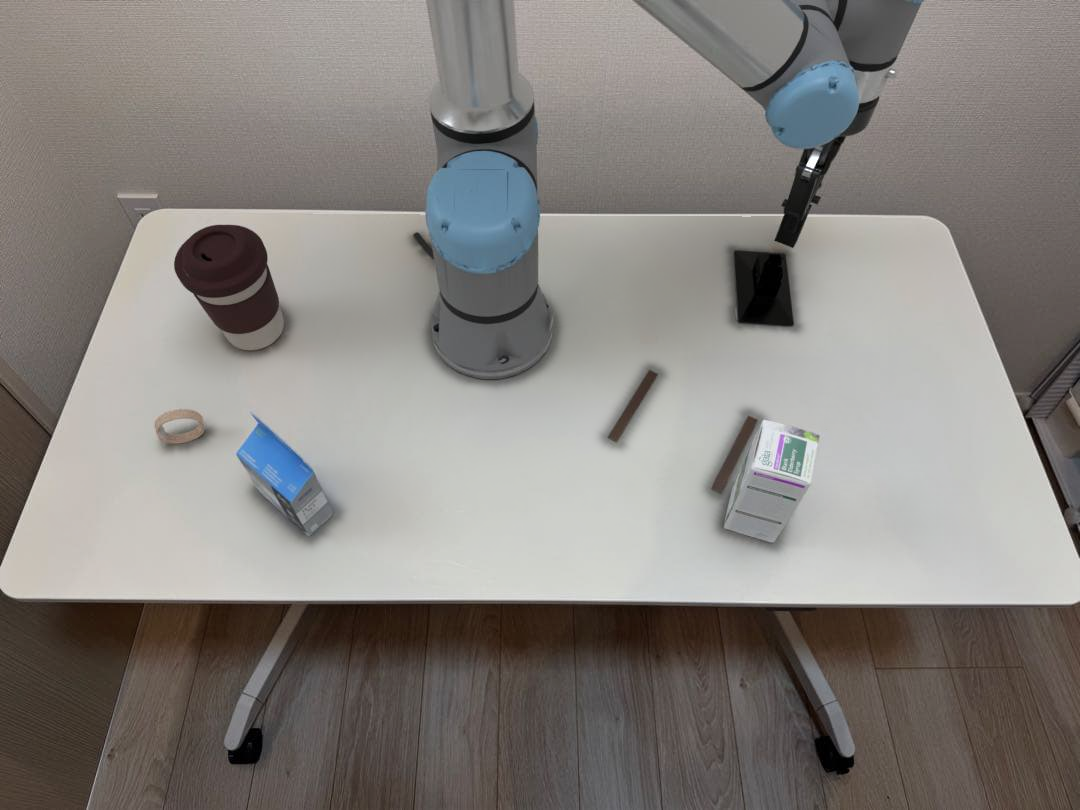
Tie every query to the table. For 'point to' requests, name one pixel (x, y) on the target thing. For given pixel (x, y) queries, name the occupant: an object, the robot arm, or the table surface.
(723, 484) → the strips
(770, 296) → the build plate
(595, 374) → the table surface
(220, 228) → the coffee cup
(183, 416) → the beige hollow ring
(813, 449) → the syrup box
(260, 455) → the label tape box
